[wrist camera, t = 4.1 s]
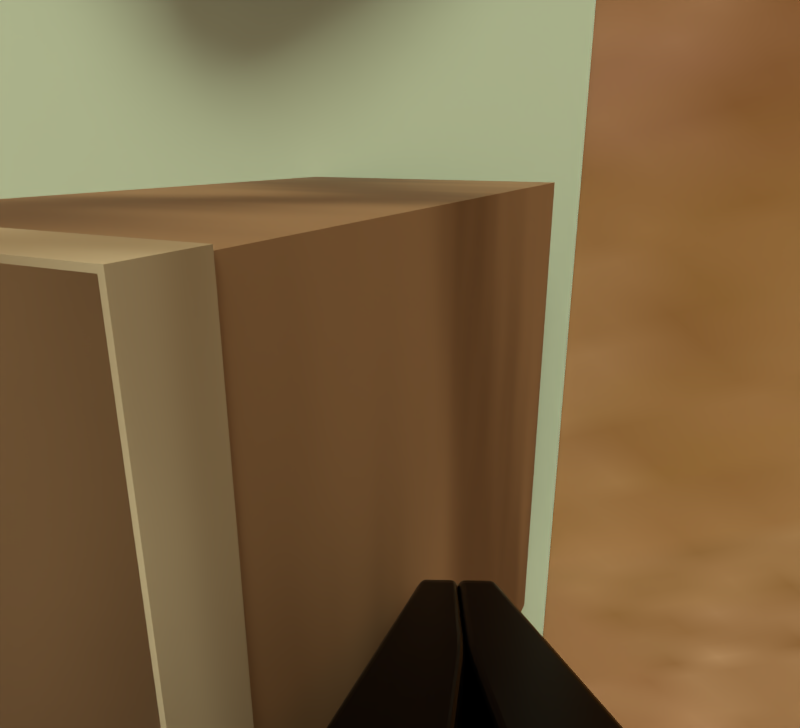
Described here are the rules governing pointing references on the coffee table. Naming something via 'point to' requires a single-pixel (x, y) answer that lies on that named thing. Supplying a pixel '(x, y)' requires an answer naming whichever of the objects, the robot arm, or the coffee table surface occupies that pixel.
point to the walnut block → (255, 436)
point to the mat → (312, 118)
